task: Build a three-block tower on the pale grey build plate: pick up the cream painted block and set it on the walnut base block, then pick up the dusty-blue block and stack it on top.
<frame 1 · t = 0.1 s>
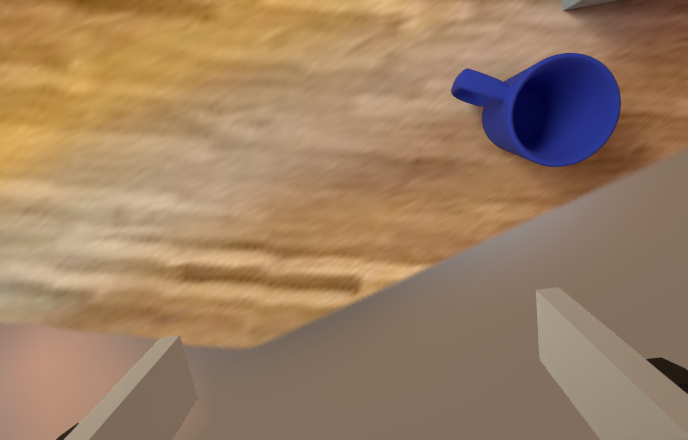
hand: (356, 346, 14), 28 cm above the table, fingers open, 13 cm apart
mug: (495, 108, 39), on the table
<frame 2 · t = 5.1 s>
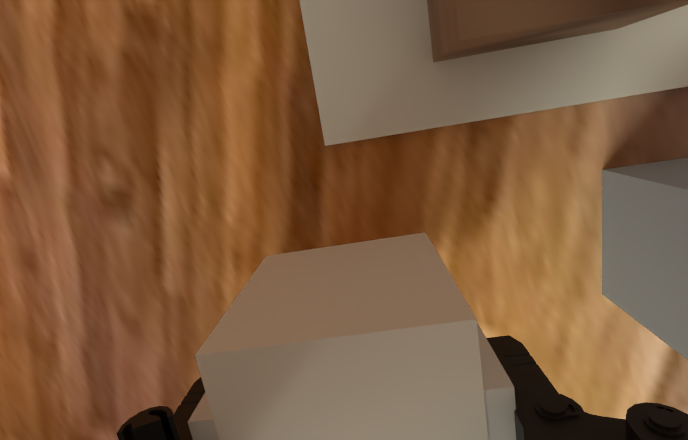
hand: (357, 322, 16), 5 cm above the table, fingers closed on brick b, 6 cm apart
brick b: (357, 317, 16), point 4 cm above the table, touching gripper
brick c: (671, 224, 19), on the table
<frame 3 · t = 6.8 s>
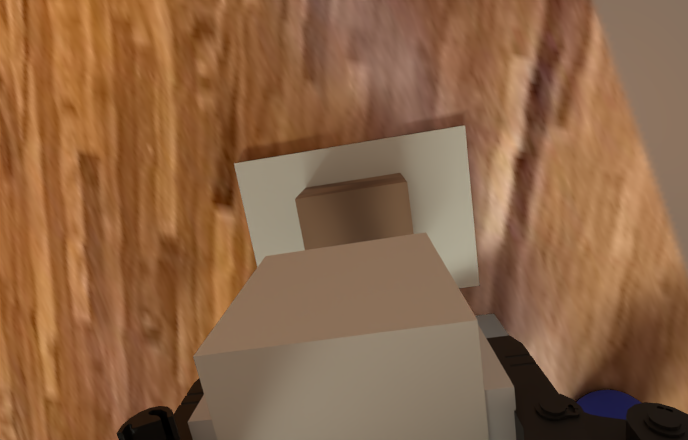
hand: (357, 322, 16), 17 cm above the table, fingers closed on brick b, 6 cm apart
base brick: (359, 226, 31), point 1 cm above the table, touching build plate
brick b: (357, 317, 16), point 17 cm above the table, touching gripper
mug: (588, 431, 36), on the table
build plate: (359, 223, 32), on the table
brick c: (459, 350, 35), on the table
when the fingers open (8 cm above the table, at t = 8.7 s): brick b drops 1 cm, resting on base brick.
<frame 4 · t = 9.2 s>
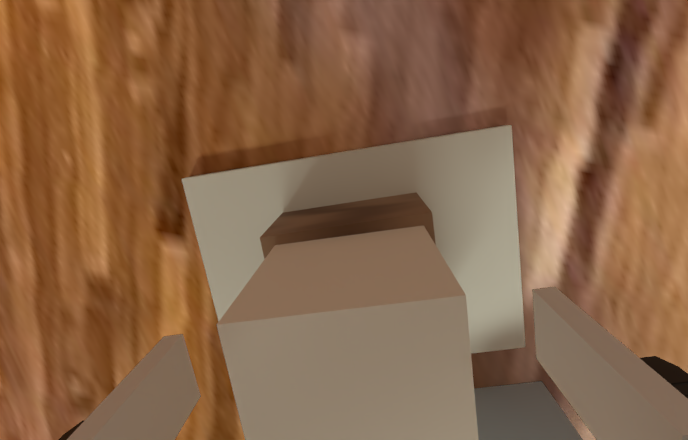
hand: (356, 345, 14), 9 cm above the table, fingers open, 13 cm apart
base brick: (358, 265, 22), point 1 cm above the table, touching brick b, build plate
brick b: (358, 304, 18), point 6 cm above the table, touching base brick
build plate: (359, 259, 23), on the table
brick c: (493, 428, 26), on the table
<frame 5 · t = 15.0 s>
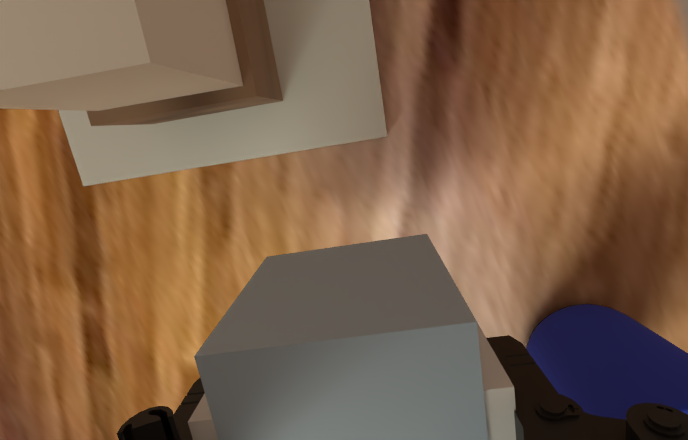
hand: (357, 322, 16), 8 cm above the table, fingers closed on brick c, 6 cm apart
base brick: (199, 39, 20), point 1 cm above the table, touching brick b, build plate
brick b: (148, 14, 16), point 6 cm above the table, touching base brick
mug: (559, 369, 25), on the table
build plate: (207, 43, 21), on the table
brick c: (357, 318, 16), point 8 cm above the table, touching gripper
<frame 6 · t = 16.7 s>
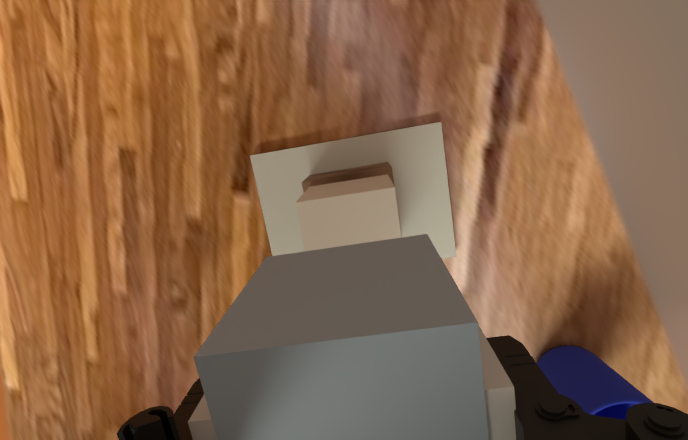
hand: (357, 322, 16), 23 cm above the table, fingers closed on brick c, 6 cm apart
base brick: (354, 207, 37), point 1 cm above the table, touching brick b, build plate
brick b: (354, 218, 33), point 6 cm above the table, touching base brick
mug: (553, 383, 42), on the table
build plate: (355, 205, 38), on the table
brick c: (358, 318, 16), point 23 cm above the table, touching gripper
when the fingers open (15 cm above the table, at t = 18.6 s): brick c drops 1 cm, resting on brick b.
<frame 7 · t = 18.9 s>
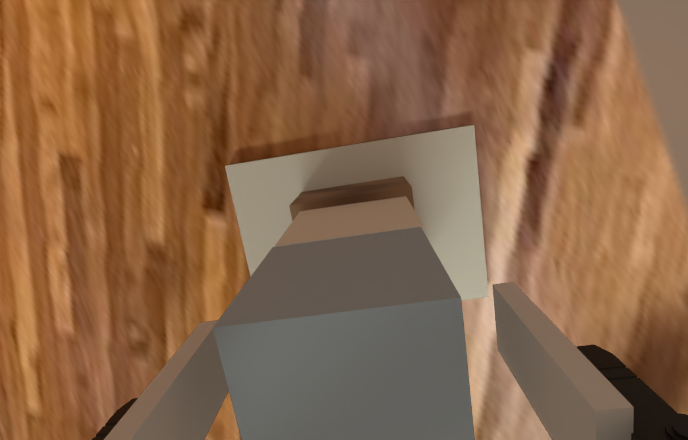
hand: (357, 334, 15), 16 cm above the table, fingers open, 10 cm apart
base brick: (359, 233, 29), point 1 cm above the table, touching brick b, build plate
brick b: (360, 254, 24), point 6 cm above the table, touching base brick, brick c
build plate: (360, 229, 30), on the table
brick c: (356, 305, 18), point 13 cm above the table, touching brick b
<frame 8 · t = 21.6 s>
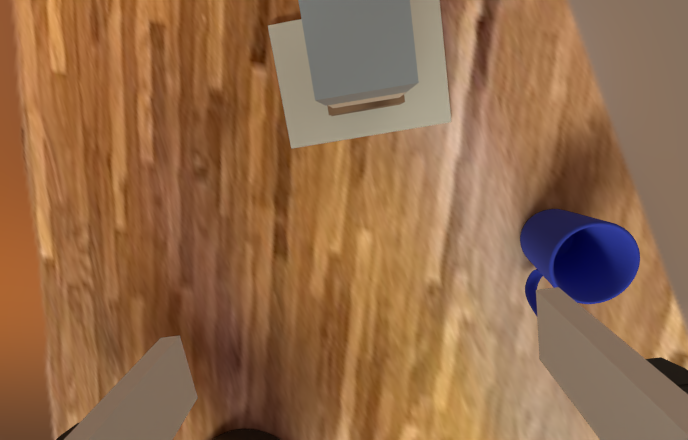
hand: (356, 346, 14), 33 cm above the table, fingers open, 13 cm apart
base brick: (361, 74, 42), point 1 cm above the table, touching brick b, build plate
mug: (538, 249, 47), on the table
build plate: (361, 75, 43), on the table
brick c: (359, 55, 30), point 13 cm above the table, touching brick b
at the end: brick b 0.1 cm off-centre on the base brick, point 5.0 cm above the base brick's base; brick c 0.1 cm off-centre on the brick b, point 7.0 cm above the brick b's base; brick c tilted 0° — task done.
